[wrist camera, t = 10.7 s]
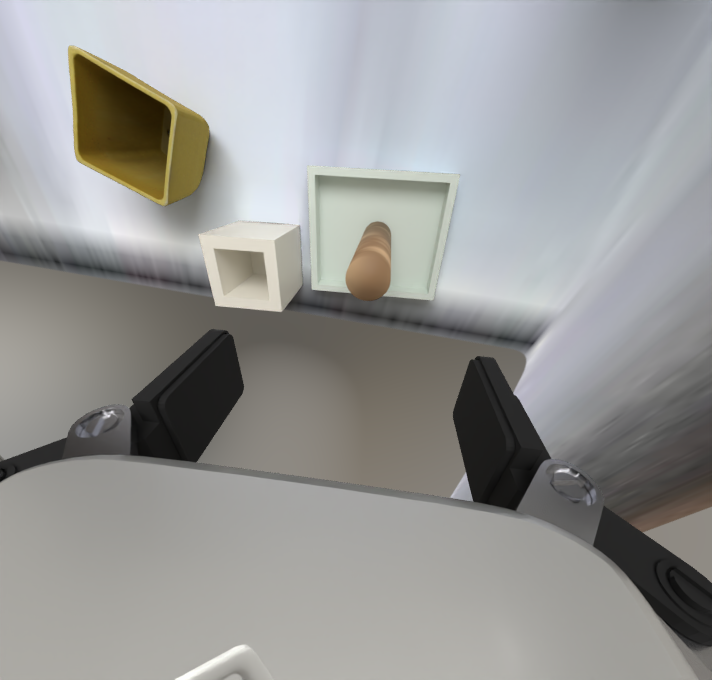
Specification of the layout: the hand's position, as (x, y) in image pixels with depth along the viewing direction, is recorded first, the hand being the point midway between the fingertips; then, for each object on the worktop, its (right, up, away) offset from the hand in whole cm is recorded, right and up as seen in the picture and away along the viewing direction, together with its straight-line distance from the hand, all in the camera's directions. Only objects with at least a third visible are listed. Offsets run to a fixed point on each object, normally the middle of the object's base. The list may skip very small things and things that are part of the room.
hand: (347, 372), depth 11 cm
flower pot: (-19, +24, +21) cm, 38 cm away
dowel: (+3, +14, +23) cm, 27 cm away
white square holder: (-11, +13, +27) cm, 32 cm away
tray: (+3, +15, +24) cm, 28 cm away
